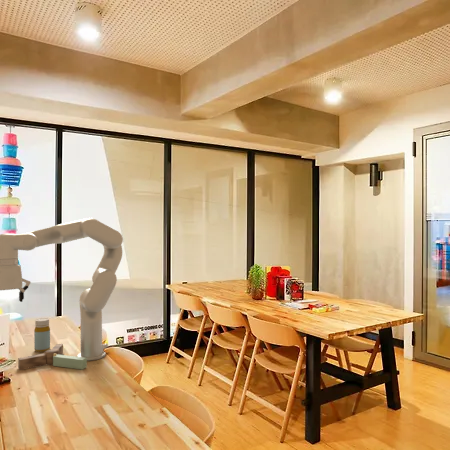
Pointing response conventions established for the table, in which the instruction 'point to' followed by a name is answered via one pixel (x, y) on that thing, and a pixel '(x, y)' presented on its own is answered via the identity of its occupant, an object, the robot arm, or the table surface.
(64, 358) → the hinged leg
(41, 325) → the bottle
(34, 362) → the brown angled wooden piece
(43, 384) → the table surface
